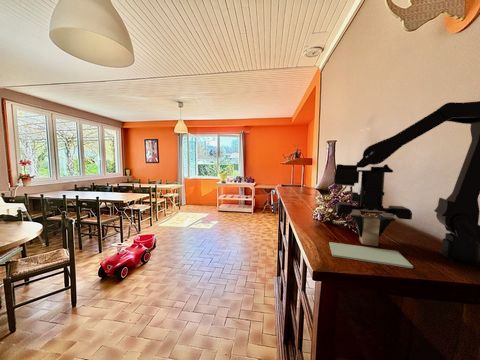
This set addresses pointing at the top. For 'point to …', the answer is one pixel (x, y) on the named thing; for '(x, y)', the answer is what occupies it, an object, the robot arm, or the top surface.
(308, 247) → the top surface
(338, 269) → the top surface
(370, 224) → the maple block
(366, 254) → the sage mat
